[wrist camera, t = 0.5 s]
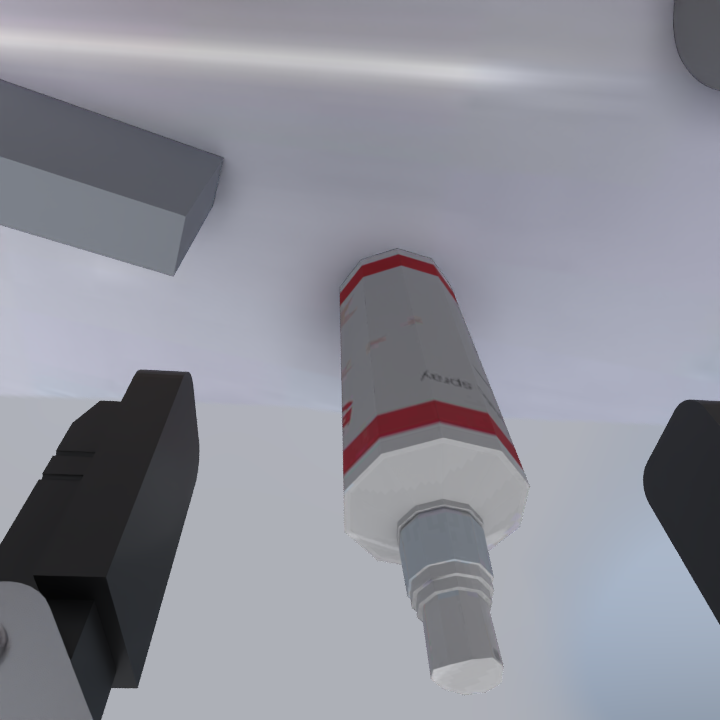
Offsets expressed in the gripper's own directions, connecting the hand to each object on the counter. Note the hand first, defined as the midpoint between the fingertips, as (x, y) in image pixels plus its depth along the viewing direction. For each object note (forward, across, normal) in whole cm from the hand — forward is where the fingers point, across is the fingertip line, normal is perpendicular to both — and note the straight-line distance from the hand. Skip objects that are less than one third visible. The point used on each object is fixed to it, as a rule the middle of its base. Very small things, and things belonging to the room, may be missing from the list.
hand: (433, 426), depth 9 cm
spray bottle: (+27, -3, +12) cm, 29 cm away
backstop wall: (+26, +16, +3) cm, 31 cm away
